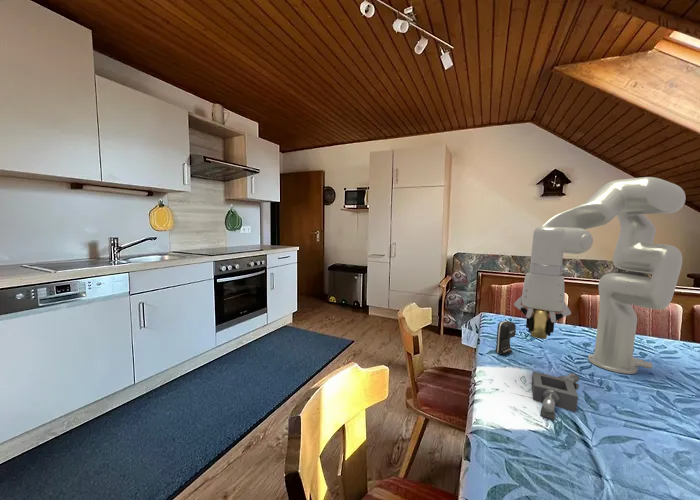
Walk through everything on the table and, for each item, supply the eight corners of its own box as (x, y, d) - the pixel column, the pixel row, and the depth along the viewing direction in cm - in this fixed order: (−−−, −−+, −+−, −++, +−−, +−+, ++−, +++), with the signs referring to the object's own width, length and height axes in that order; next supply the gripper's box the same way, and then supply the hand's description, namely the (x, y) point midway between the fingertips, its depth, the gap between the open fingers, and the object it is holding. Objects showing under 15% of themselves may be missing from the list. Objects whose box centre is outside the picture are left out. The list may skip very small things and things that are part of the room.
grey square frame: (570, 394, 81) (571, 380, 81) (576, 412, 73) (577, 396, 73) (531, 384, 86) (532, 371, 85) (533, 400, 78) (534, 385, 77)
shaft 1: (541, 402, 77) (543, 386, 76) (558, 408, 75) (560, 392, 74) (538, 415, 71) (539, 398, 71) (555, 422, 69) (557, 405, 69)
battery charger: (505, 356, 104) (508, 325, 103) (494, 352, 107) (497, 322, 106) (515, 352, 108) (517, 322, 107) (504, 348, 111) (507, 319, 110)
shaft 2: (568, 395, 81) (570, 380, 80) (554, 389, 84) (555, 374, 83) (580, 388, 84) (582, 374, 84) (566, 382, 87) (567, 369, 87)
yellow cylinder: (546, 335, 86) (549, 309, 86) (547, 340, 83) (549, 312, 82) (530, 332, 88) (532, 306, 88) (530, 336, 85) (533, 309, 84)
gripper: (579, 272, 83) (572, 335, 84) (512, 265, 91) (507, 323, 93) (584, 275, 76) (576, 343, 78) (511, 268, 85) (505, 329, 87)
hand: (539, 331), depth 86 cm, fingers closed on yellow cylinder, 4 cm apart
